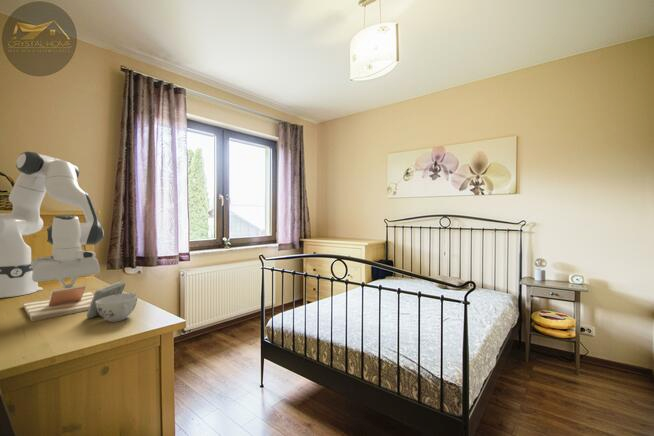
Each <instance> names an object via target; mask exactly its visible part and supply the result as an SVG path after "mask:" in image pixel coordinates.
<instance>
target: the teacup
mask: <svg viewBox="0 0 654 436" xmlns="http://www.w3.org/2000/svg"><path fill="white" fill-rule="evenodd" d="M138 297H139V296H138V294H136V293H132V292H131V293H125V292H122V294H116V295H111V296H107V297H104V298H101V299H99V300H97V301H96V302H95V303H96V308H97V310H98V312H99V314H100V315H101V316H100V317H102V318H104V319H105V320H106V321H107V322H109V323H110V322H113V323H115V322H120V321H124V320H125V319H127V318H128V317H129V316H130V315H131V313H132V312H133V311H134V310H135V308H136V305H137V301H138Z"/></svg>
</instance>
